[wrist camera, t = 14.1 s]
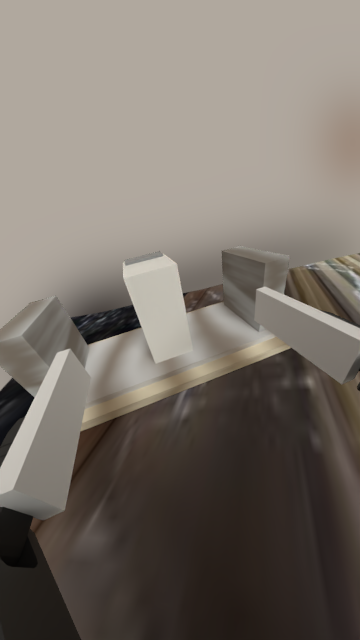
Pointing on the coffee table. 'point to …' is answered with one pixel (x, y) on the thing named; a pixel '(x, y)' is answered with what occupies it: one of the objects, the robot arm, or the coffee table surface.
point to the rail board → (133, 350)
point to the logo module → (159, 304)
